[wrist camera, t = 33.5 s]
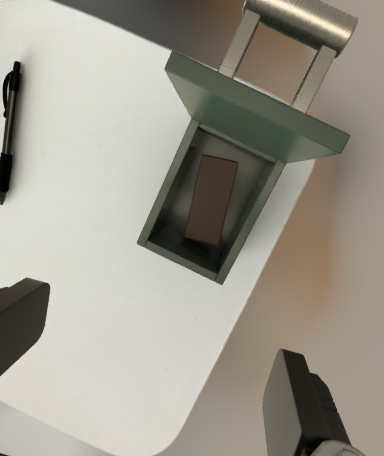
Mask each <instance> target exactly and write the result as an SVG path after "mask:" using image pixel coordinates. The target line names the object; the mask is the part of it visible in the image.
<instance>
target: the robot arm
mask: <svg viewBox="0 0 384 456" xmlns="http://www.w3.org/2000/svg"><path fill="white" fill-rule="evenodd" d="M49 295H50V285H49V284H48V283H45V282H42V281H38V280H34V279H31V278H25V279H23V280H21V281H20V282H18V283H16V284H14V285H13V286H11V287H5V288H1V289H0V376H1V375H2V374H3V373H4V372H5V371H6V370H8V369H9V368H10V367H11V366H12V365H13V364H14V363H15V362H16V361H17V360H18V359H19V358H20V357H21V356H22V355H24V354H25V353H26V352H27V351H28V350H29V349H30V348H31V347H32V346H33V345H34V344H35V343H36V342H37V341H38V340H39V338H40V336H41V334H42V332H43V330H44V327H45V321H46V315H47V308H48V302H49ZM263 415H264V425H265V434H266V443H267V452H268V456H365V455H364V454H363V453H361V452H360V451H359V450H357V449H356V448H354V447H353V446H352V445H351V443H350V441H349V438H348V436H347V433H346V431H345V428H344V426H343V423H342V421H341V418H340V416H339V413H338V412H337V408H336V406H335V403H334V402H333V398H332V396H331V393H330V391H329V388H328V387H327V386H326V384H325V383H324V382H323V381H322V380H321V379H320V377H319V376H318V375H316V374H313V373H310V372H309V369H308V366H307V363H306V360H305V358H304V356H303V355H302V354H299V353H295V352H292V351H288V350H285V349H279V350H278V353H277V355H276V358H275V361H274V364H273V367H272V370H271V373H270V376H269V379H268V382H267V385H266V388H265V392H264V397H263ZM0 456H8V455H4V454H1V453H0Z"/></svg>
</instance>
